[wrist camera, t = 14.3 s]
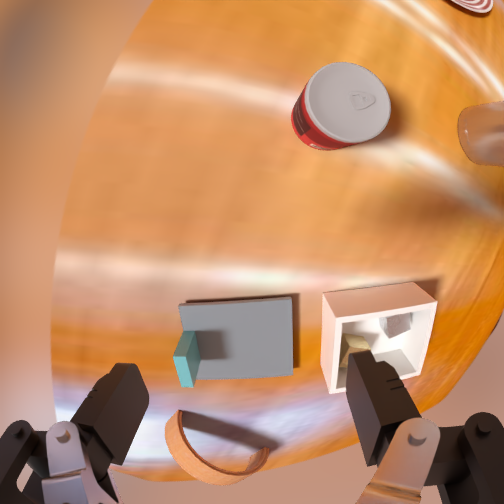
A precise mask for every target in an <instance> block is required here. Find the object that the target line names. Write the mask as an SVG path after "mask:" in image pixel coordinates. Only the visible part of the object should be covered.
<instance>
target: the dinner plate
mask: <svg viewBox="0 0 504 504" xmlns="http://www.w3.org/2000/svg"><path fill="white" fill-rule="evenodd" d="M452 1H453V2H455V3H457V4H459V5H460V6H462V7H464V8H466V9H469V10H472V11H474V12H479V13H485V12H488V11H490V10H491V9H492V7H493V0H452Z"/></svg>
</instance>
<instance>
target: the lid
mask: <svg viewBox="0 0 504 504" xmlns="http://www.w3.org/2000/svg"><path fill="white" fill-rule="evenodd" d="M178 307H179V312H180V317H181V322H182V326H183V333H182V336H181V338H180V341H179V343H178V345H177V348H176V350H175V352H174V355H173V359H174V363H175V366H176V370H177V373H178V376H179V380H180V383H181V386H182V387H194V384H195V380H196V379H202V380H207V379H247V378H264V377H278V376H289V375H293V331H292V299H291V297H280V298H268V299H254V300H239V301H223V302H204V303H181V304H179V306H178Z"/></svg>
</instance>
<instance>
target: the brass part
mask: <svg viewBox="0 0 504 504" xmlns="http://www.w3.org/2000/svg"><path fill="white" fill-rule="evenodd" d="M365 350H370V351H371V348H370V346H369V345H368V343H367V341H366V340H365V338H364V337H363V336H357V335H352V334H347V333H343V334H342V336H341V345H340V356H339V367H345V368H347V366H348V356H349V353H353V352H359V351H365Z"/></svg>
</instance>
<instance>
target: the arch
mask: <svg viewBox="0 0 504 504" xmlns="http://www.w3.org/2000/svg"><path fill="white" fill-rule="evenodd" d="M182 413H183V412H182V411H179V410H177V412H176V413H175V414H174V415H173V416H172V417H171V418H170V419H169V420H168V422H167V423H166V426H165V439H166V443H167V446H168V448H169V451H170V453H171V454H172V456H173V458H174V459H175V461H176V462H177V463H178V464H179V465H180V466H181V467H182V468H183V469H184V470H185V471H186V472H187V473H189V474H190V475H192V476H193V477H195V478H197V479H199V480H201V481H203V482H206V483H210V484H213V485H231V484H234V483H237V482H239V481H241V480H243V479H245V478H246V477H248V476H250V475H252V474H253V473H255V472H257V471H258V470H259V469H261V468H262V467H263V466H264V464H265V463H266V461H267V458H268V455H269V448H267V447H264V448H262V449H261V450H259V451H258V452H256V453H255V454H254V455H252V456H251V457H250V460H249V465H248V467H247V469H246V470H245V471H242V472H233V471H226V470H223V469H220V468H218V467H216V466H213V465H211V464H210V463H208V462H207V461H205V460H204V459H203V458H202V457H201V456H199V455H198V454H197V453H196V451H195V450H194V449H193V448H192V447H191V445H190V444H189V442H188V440H187V438H186V436H185V434H184V431H183V427H182Z"/></svg>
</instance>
